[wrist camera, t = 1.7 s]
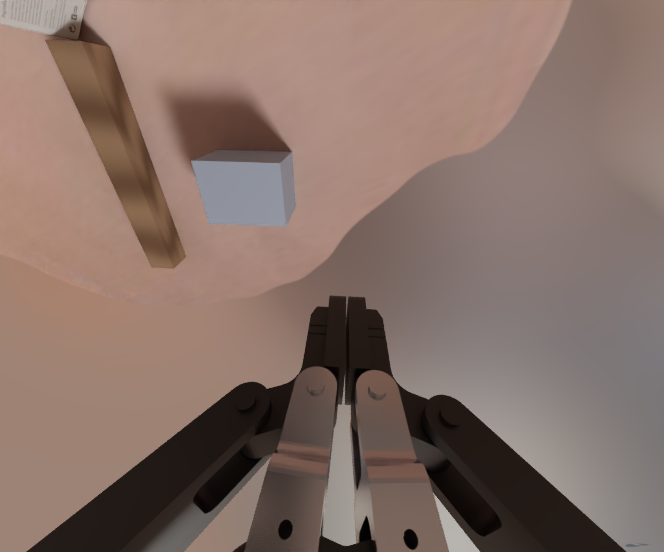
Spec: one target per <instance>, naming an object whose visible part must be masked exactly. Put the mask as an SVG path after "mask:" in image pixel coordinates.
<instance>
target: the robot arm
mask: <svg viewBox="0 0 664 552" xmlns="http://www.w3.org/2000/svg"><path fill="white" fill-rule="evenodd" d="M385 338H386V336H385V331H384V324H383V318H382V317H381V316H380V314H379V313H378V311H377V310H371V309H366V303H365V298H364V297H348V306H347V317H346V297H345V296H330V298H329V307H317V308H316V309H315V310H314V312H313V313H312V314H311V318H310V323H309V330H308V335H307V341H306V348H305V353H304V359H303V365H302V368H301V371H300V373H299V374H298V375H297V376H296V378H295V379H293V380H292V381H290V382H289V383H286V384H284V385H281V386H277V387H273V388H269V389H266V387H265V386H263V385H262V384H259V383H257V382H247V383H243V384H241V385H239V386H237V387H235V388H234V389H233V390H231V391H230V392H229V393H228V394H226V395H225V396H224V397H222V398H221V399H220V400H219V401H218V402H216V403H215V404H214V405H212V406H211V407H210V408H209V409H207V410H206V411H205V412H203V413H202V414H201V415H200V416H198V417H197V418H196V419H195V420H193V421H192V422H191V423H189V424H188V425H187V426H186V427H184V428H183V429H182V430H181V431H179V432H178V433H177V434H175V435H174V436H173V437H172V438H171V439H169V440H168V441H167V442H165V443H164V444H163V445H162V446H160V447H159V448H158V449H156V450H155V451H154V452H153V453H151V454H150V455H149V456H148V457H146V458H145V459H144V460H142V461H141V462H140V463H139V464H137V465H136V466H135V467H134V468H132V469H131V470H130V471H128V472H127V473H126V474H125V475H123V476H122V477H121V478H120V479H118V480H117V481H116V482H114V483H113V484H112V485H111V486H109V487H108V488H107V489H106V490H104V491H103V492H102V493H101V494H99V495H98V496H97V497H95V498H94V499H93V500H92V501H91V502H89V503H88V504H87V505H85V506H84V507H83V508H82V509H80V510H79V511H78V512H76V513H75V514H74V515H73V516H71V517H70V518H69V519H68V520H66V521H65V522H64V523H62V524H61V525H60V526H59V527H57V528H56V529H55V530H54V531H52V532H51V533H50V534H49V535H47V536H46V537H45V538H43V539H42V540H41V541H40V542H38V543H37V544H36V545H34V546H33V547H32V548H31V549H29V550H28V551H27V552H184V551H185V550H186V549H187V548H188V547H189V545H190V544H191V543H192V542H193V541H194V540H195V539H196V538H197V537H198V536H199V534H200V533H201V532H202V531H203V530H204V529H205V528H206V527H207V526H208V525H209V524H210V522H212V520H213V519H214V518H215V517H216V516H217V515H218V514H219V513H220V512H221V510H222V509H223V508H224V507H225V506H226V505H227V504H228V503H229V502H230V501H231V500H232V499H233V497H234V496H235V495H236V494H237V493H238V492H239V491H240V490H241V489H242V488H243V486H244V485H245V484H246V483H247V482H248V481H249V480H250V479H251V478H252V477H253V476H254V474H255V473H256V472H257V471H258V470H259V469H260V468H261V467H262V466H263V465H264V464H265V463H266V461H267V460H268V459H269V458H270V457H271V459H270V461H269V464H268V468H267V471H266V475H265V478H264V482H263V486H262V489H261V493H260V496H259V500H258V503H257V507H256V511H255V514H254V518H253V522H252V526H251V529H250V532H249V536H248V540H247V542H245V543H244V544H242V545H241V546H239V547H238V548H237V549H235V550H234V551H233V552H449V550H448V546H447V543H446V539H445V535H444V532H443V528H442V524H441V521H440V517H439V513H438V510H437V507H436V502H435V499H434V495H433V493H434V494H435V495H436V496H437V498H438V499H439V500H440V501H441V503H442V504H443V505H444V507H445V508H446V509H447V510H448V512H450V514H451V515H452V517H453V518H454V519H455V520H456V522H457V523H458V524H459V525H460V527H461V528H462V529H463V530H464V532H465V533H466V534H467V536H468V537H469V538H470V539H471V540H472V542H473V543H474V544H475V546H476V547H477V548H478V549H479V551H480V552H626V551H625V550H624V549H623V548H622V547H620V546H619V545H618V544H617V543H616V542H615V541H614V540H613V539H611V538H610V537H609V536H608V535H607V534H606V533H605V532H604V531H603V530H602V529H600V528H599V527H598V526H597V525H596V524H595V523H594V522H593V521H591V520H590V519H589V518H588V517H587V516H586V515H585V514H584V513H583V512H581V511H580V510H579V509H578V508H577V507H576V506H575V505H574V504H573V503H571V502H570V501H569V500H568V499H567V498H566V497H565V496H564V495H563V494H562V493H561V492H559V491H558V490H557V489H556V488H555V487H554V486H553V485H552V484H550V483H549V482H548V481H547V480H546V479H545V478H544V477H543V476H542V475H541V474H539V473H538V472H537V471H536V470H535V469H534V468H533V467H532V466H531V465H530V464H528V463H527V462H526V461H525V460H524V459H523V458H522V457H520V455H518V454H517V453H516V452H515V451H514V450H513V449H512V448H511V447H509V446H508V445H507V444H506V443H505V442H504V441H503V440H502V439H501V438H500V437H498V436H497V435H496V434H495V433H494V432H493V431H492V430H491V429H490V428H488V427H487V426H486V425H485V424H484V423H483V422H482V421H481V420H480V419H479V418H477V417H476V416H475V415H474V414H473V413H472V412H471V411H470V410H469V409H467V408H466V407H465V406H464V405H463V404H462V403H461V402H459V401H458V400H456V399H454V398H452V397H450V396H446V395H436V396H433V397H432V398H430V399H429V400H428V399H426V398H423V397H420V396H418V395H415V394H412V393H410V392H408V391H406V390H405V389H403V388H402V387H401V386H400V385H399V384H398V383H397V382H396V381H395V379H394V377H393V375H392V372H391V368H390V361H389V355H388V349H387V342H386V339H385ZM344 377H345V404H346V405H351V422H350V434H351V448H352V463H353V476H354V492H355V499H354V502H355V503H354V511H355V530H356V544H353V545H350V546H342V545H340V544H338V543H336V542H334V541H331V540H329V539H327V538H325V537H323V528H324V518H325V508H326V498H327V489H328V478H329V469H330V460H331V451H332V442H333V432H334V427H335V424H336V419H337V407H338V404H342V397H343V387H344Z"/></svg>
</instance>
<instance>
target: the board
mask: <svg viewBox="0 0 664 552" xmlns="http://www.w3.org/2000/svg"><path fill="white" fill-rule="evenodd" d="M46 43H47V45H48V47H49V49H50V51H51V53H52V55H53V58H54V60H55V62H56V64H57V66H58V68H59V70H60V73H61V75H62V77H63V79H64V81H65V83H66V85H67V88H68V90H69V92H70V94H71V96H72V98H73V100H74V103H75V105H76V107H77V109H78V111H79V113H80V115H81V117H82V120H83V122H84V124H85V126H86V128H87V130H88V132H89V135H90V137H91V139H92V141H93V143H94V145H95V147H96V150H97V152H98V154H99V156H100V158H101V160H102V162H103V165H104V167H105V169H106V171H107V173H108V175H109V177H110V180H111V182H112V184H113V186H114V188H115V190H116V192H117V195H118V197H119V199H120V201H121V203H122V205H123V207H124V210H125V212H126V214H127V216H128V218H129V220H130V222H131V225H132V227H133V229H134V231H135V233H136V235H137V237H138V240H139V242H140V244H141V246H142V248H143V250H144V252H145V254H146V257H147V259H148V261H149V263H150V265H151V267H153V268H172V269H174V268H175V267H176V266H177V265H178V264H179V263H180V262H181V261H182V260H183V259H184V258H185V257H186V256H185V253H184V250H183V247H182V245H181V242H180V239H179V236H178V233H177V231H176V228H175V225H174V222H173V220H172V217H171V214H170V211H169V208H168V206H167V203H166V200H165V197H164V195H163V192H162V189H161V186H160V184H159V181H158V178H157V175H156V172H155V170H154V167H153V164H152V161H151V159H150V156H149V153H148V150H147V148H146V145H145V142H144V139H143V136H142V134H141V131H140V128H139V125H138V123H137V120H136V117H135V114H134V111H133V109H132V106H131V103H130V100H129V98H128V95H127V92H126V89H125V87H124V84H123V81H122V78H121V75H120V73H119V70H118V67H117V64H116V62H115V59H114V56H113V53H112V51H111V48H110V47H107V46H102V45H98V44H93V43H89V42H84V41H67V40H46Z"/></svg>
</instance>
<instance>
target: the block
mask: <svg viewBox="0 0 664 552" xmlns="http://www.w3.org/2000/svg"><path fill="white" fill-rule="evenodd" d="M191 163H192V166H193V170H194V173H195V177H196V180H197V184H198V187H199V191H200V194H201V198H202V201H203V205H204V208H205V212H206V215H207V219H208V222H209V224H231V225H258V226H285V227H286V226H287V224H288V222H289V219H290V217H291V215H292V213H293V211H294V209H295V207H296V202H295V187H294V173H293V158H292V152H287V151H250V150H216V151H214V152H211V153H209V154H206V155H204V156H201V157H199V158H196V159H194V160H191Z"/></svg>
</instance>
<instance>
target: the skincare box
mask: <svg viewBox="0 0 664 552" xmlns="http://www.w3.org/2000/svg"><path fill="white" fill-rule="evenodd" d="M86 3H87V0H0V25H5V26H10V27H14V28H19V29H24V30H29V31H33V32H38V33H43V34H47V35H53V36H57V37H62V38H67V39H72V40H78V37H79V34H80V29H81V23H82V18H83V14H84V10H85V6H86Z"/></svg>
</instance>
